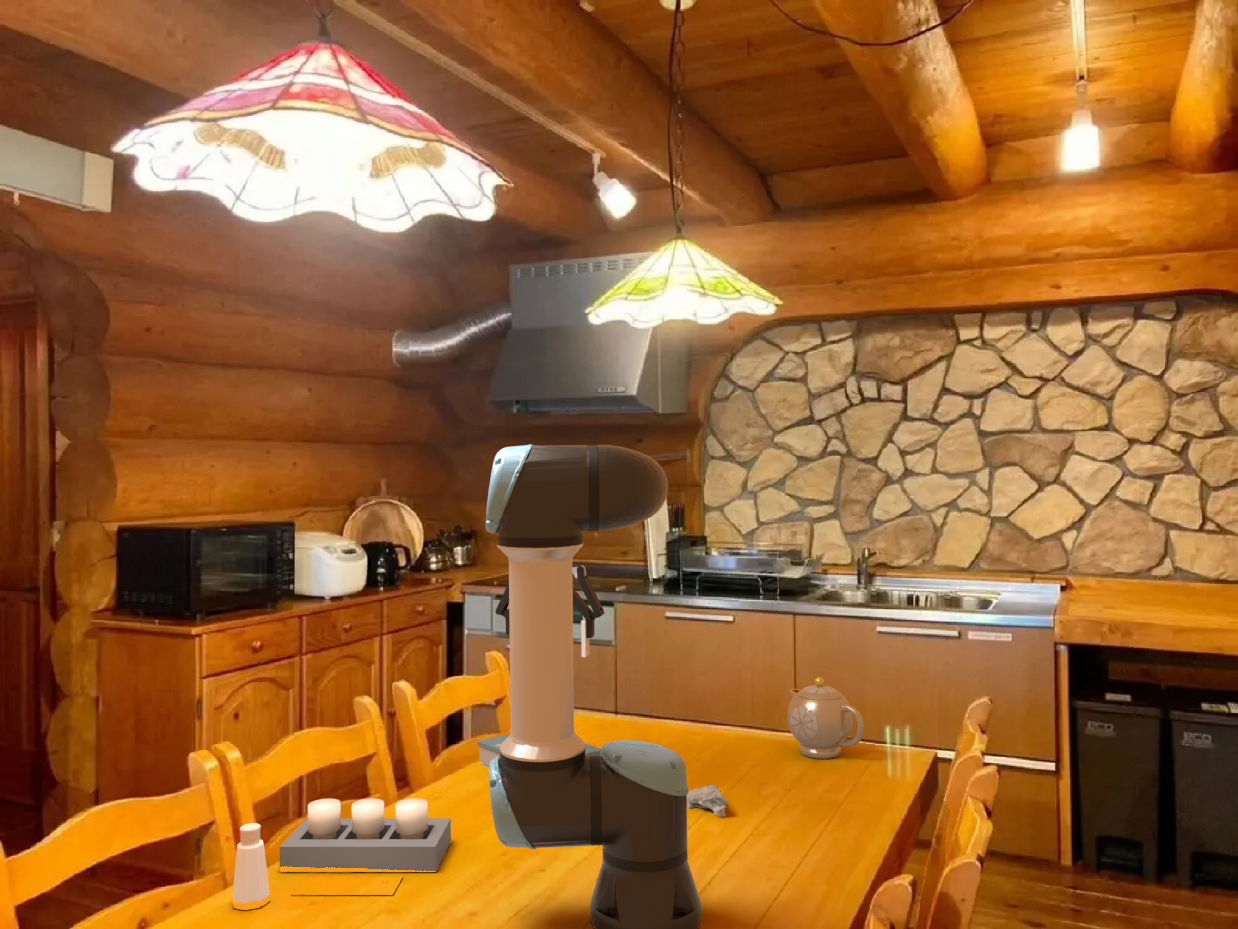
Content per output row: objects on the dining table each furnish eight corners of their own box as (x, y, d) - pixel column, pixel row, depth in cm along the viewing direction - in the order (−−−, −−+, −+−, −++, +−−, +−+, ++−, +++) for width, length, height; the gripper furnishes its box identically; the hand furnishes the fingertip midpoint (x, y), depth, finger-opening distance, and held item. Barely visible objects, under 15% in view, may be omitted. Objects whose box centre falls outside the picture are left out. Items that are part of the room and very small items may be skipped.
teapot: (772, 754, 210) (771, 677, 210) (808, 740, 220) (807, 667, 220) (846, 771, 198) (845, 690, 198) (881, 757, 207) (880, 678, 207)
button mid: (379, 847, 154) (379, 809, 154) (347, 847, 155) (347, 809, 155) (387, 835, 159) (387, 798, 159) (357, 835, 160) (356, 798, 160)
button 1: (335, 847, 155) (334, 809, 155) (303, 847, 155) (303, 809, 155) (344, 835, 160) (344, 798, 160) (314, 835, 160) (313, 798, 160)
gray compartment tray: (435, 873, 151) (435, 846, 151) (279, 873, 151) (279, 847, 151) (450, 842, 163) (450, 818, 163) (306, 842, 163) (306, 818, 163)
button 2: (424, 847, 154) (423, 809, 154) (392, 847, 154) (392, 809, 154) (431, 835, 159) (430, 798, 159) (400, 835, 159) (399, 798, 159)
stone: (693, 823, 172) (693, 799, 172) (678, 797, 184) (678, 775, 184) (729, 821, 173) (729, 798, 173) (711, 796, 185) (712, 774, 185)
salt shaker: (276, 894, 144) (275, 818, 144) (264, 911, 139) (263, 832, 138) (238, 895, 144) (237, 819, 144) (225, 912, 138) (224, 833, 138)
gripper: (619, 538, 183) (620, 653, 183) (492, 537, 189) (493, 648, 189) (609, 541, 175) (610, 660, 175) (477, 540, 181) (478, 655, 181)
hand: (550, 654), depth 182 cm, fingers open, 13 cm apart
